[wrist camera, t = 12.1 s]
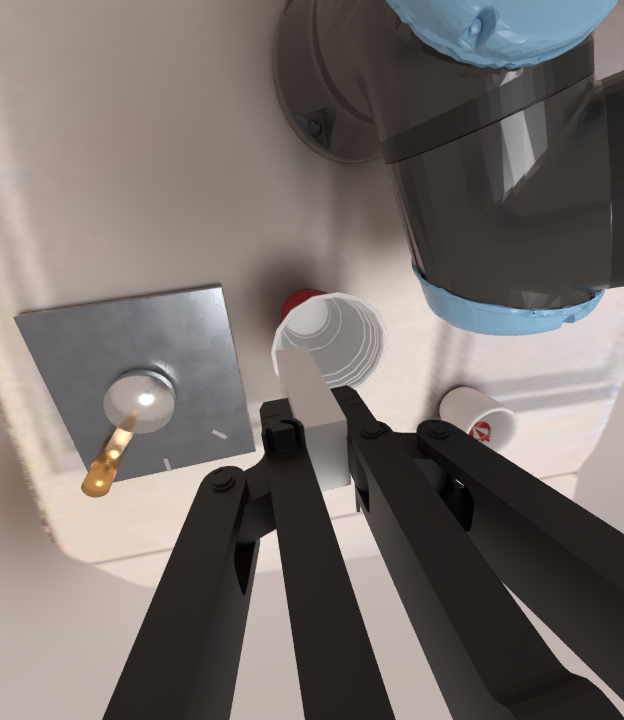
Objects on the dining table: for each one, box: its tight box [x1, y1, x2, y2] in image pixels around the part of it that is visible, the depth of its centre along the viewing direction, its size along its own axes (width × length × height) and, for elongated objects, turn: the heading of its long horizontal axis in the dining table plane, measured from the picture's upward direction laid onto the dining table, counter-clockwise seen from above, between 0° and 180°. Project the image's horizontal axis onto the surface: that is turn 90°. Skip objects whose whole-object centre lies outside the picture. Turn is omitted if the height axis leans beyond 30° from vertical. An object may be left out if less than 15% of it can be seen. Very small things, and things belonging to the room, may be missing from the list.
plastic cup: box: [271, 289, 387, 390], centre depth 36 cm, size 11×11×12 cm
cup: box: [439, 387, 518, 453], centre depth 49 cm, size 11×8×8 cm
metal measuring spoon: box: [81, 370, 176, 497], centre depth 38 cm, size 13×7×6 cm, turn 146°
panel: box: [13, 285, 256, 483], centre depth 41 cm, size 22×20×2 cm
